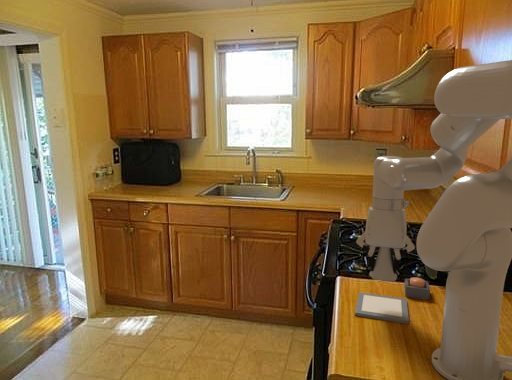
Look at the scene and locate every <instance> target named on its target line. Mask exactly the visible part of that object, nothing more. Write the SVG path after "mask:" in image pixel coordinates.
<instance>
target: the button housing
mask: <svg viewBox="0 0 512 380" xmlns="http://www.w3.org/2000/svg"><path fill="white" fill-rule="evenodd" d="M403 286H404V288H405V289H404V297H405V296H407V298H412V297H413V299H420V298H421V299H422V300H430V299H431V298H430V295H431V288H430V287H431V286H430V283H429V281H427V280H425V286H424V288H420V287H412V286H410V278H404V285H403Z"/></svg>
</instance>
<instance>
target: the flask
mask: <svg viewBox="0 0 512 380" xmlns="http://www.w3.org/2000/svg"><path fill="white" fill-rule="evenodd" d="M368 275H369V277H371V279H373V280H375V281H381V282H395V281H396V280H397V279H398V276H397V275H398V274H397V273H396V274H394V272H393V258H392V255H391V248H385V247H379V248H378V253H377V256H376V258H375V260H374V270H373V271H371V270H370V271H369V274H368Z"/></svg>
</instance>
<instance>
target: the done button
mask: <svg viewBox="0 0 512 380" xmlns="http://www.w3.org/2000/svg"><path fill="white" fill-rule="evenodd" d="M409 279H410V286H412V287H420V288H424V286H425V281H426V280H425V279H423V278H421V277H410V278H409Z"/></svg>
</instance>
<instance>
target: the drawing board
mask: <svg viewBox="0 0 512 380" xmlns="http://www.w3.org/2000/svg"><path fill="white" fill-rule="evenodd" d="M355 315H357V316H356V317H363V318H369V319H374V320H375V319H376V320H382V321H387V322H388V321H389V322H395V323H400V324H401V323H402V324H406V325H407V324H408V325H409V323H410V320H409V309H408V299H407V298H403V297H397V296H390V295H389V296H387V295H382V294H381V295H380V294H374V293H366V292H358V295H357V300H356V305H355V311H354V316H355Z"/></svg>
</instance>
